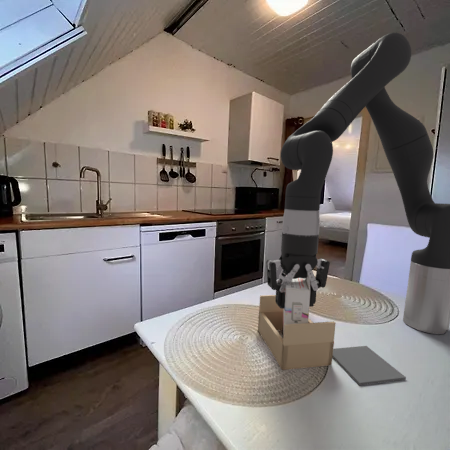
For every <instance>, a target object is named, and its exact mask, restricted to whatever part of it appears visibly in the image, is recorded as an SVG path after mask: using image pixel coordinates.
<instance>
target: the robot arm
mask: <svg viewBox="0 0 450 450" xmlns="http://www.w3.org/2000/svg"><path fill="white" fill-rule="evenodd" d="M411 58H412V47H411V44H410V42H409V40H408V39H407V37H406V36H405V35H404V34H402V33H400V32H389V33H387V34H385V35H383V36H382V37H381V36H380V37H379V39H377V40H376V41H375V42H373V43H371V45H369V46H368V47H367V48H365V49H364V50H363V51H362V52H360V53H359V54H358V55H356V57H355V58H354V59H353V60H352V62H351V65H350V76H351V79H350V80H349V81H348V82H346V84H344V85H343V86H342V87H341V88H340V89H339V90H337V91H336V92H335V93H334V94H333V95H332V96H331V97H330V98H329V99H328V100H327V101H326V102H325V103H324V104H323V106H322V107H321V108H320V109H319V110H318V111H317V112H316V113H315V115H314V116H313V117H312V118H311V119H310V120H308V121H307V122H305V123H304V124H303V125H302V126H300V127H299V128H298V129H296V130H295V131H294V132H293V133H292V134H291V135H289V136H288V137H287V139H285V142H284V143H283V145H282V148H281V150H280V160H281V162H282V163H281V164H282V165H283V166H284V167H285V168H286V169H288V170H292V171H299V175H298V177H297V178H296V180H293V181H291V182H289V183H288V184H287V185H286V189H285V198H284V199H285V200H284V210H283V211H284V213H283V217H282V227H281V228H282V230H281V242H280V243H281V245H280V253H281V254H280V256H279V258H278V259H274V260H271V259H267V260H266V262H265V264H266V279H267V280H266V281H267V286H268V287H269V288H271V290H273V291H275V295H276V299H275V302H276V304H277V305H278V306H279V307H280V308H281V309H284V307H285V292H284V291H285V288H286V285H288V284H290V283H291V281H292V279H297V278H304V279H305V281H306V280H307V277H308V276H307V272H309V274H310V304H309V308H311V307H312V308H313V307H314V305H315V304H316V302H317V291H318V289H321V288H323V289H324V288H325V287H326V285H327V279H328V276H329V270H330V265H331V264H330V263H331V262H330V261H328V260H327V259H324V258H322V257H321V258H319V259H318V258H317V254H318V251H319V250H318V249H319V239H320V238H319V237H320V226H321V223H320V222H321V220H320V218H321V217H320V207H321V196H322V195H321V192H322V189H323V186H324V184H325V182H326V181H325V180H326V178H327V175H328V172H329V169H330V166H331V163H332V159H333V154H334V146H333V142H335V141H336V140H338V139H339V138H340V137H341V136H342V135H343V134H344V133H345V131H346V130H347V129H348V128H349V127H350V125H351V124H352V123H353V122H354V120H355V119H356V118H357V117H358V116H359V114H360V113H361V112H362V111H363V109H364V108H365V109H366V111H367V112H368V114H369V117H370V119H371V121H372V123H373V125H374V127H375V130H376V132H377V134H378V137H379V140H380V142H381V145H382V148H383V151H384V154H385V157H386V159H387V161H388V164H389V166H390V169H391V171H392V173H393V176H394V179H395V182H396V184H397V186H398V187H397V188H398V191H399V193H400V196H401V200H402V205H403V207H404V212H405V216H406V219H407V222H408V226H409V228H410V229H411V230H412V232H413V233H414V234H416V235H418V236H421V237H423V238H424V237H425V238H429V239H428V242H427V245H426V247H424V248H422V249H420V248H419V249H416V250H415V249H414V250H413V251H412V252H411V257H410V264H409V265H410V266H409V271H408V272H409V273H408V281H407V288H406V295H405V301H404V302H405V303H404V310H403V317H402V321H403V322H404V323H405V324H406V326H409V327H411V328H413V329H414V330H415V329H416V331H417V330H418V331H420V332H424V333H428V334H432V335H443V334H445V333H446V332H447V331H449V330H450V203H440V202H439V203H437V202H434V199H433V197H432V194H431V192H430V189H429V185H428V179H429V174H430V172H431V167H432V165H433V161H434V160H433V159H434V147H433V145H432V142H431V139H430V137H429V133H428V131H427V128H426V126H425V125H424V124H423V123H422V122H421V121H420V120H419V119H417V118H416V117H415V116H413V115H411V114H410V113H408V112H407V111H404V110H403V109H402V108H401V107H399V106H398V105H396V104H395V102H394V101H393V100H392V99H391V97H390V95H389V93H388V92H387V90H386V86H387V85H388V84H389V83H390V82H392V81H393V80H394V79H396V78H397V77H398V76H399V75H400V74H401V73H403V72H404V71H405V70H406V69H407V68H408V65H409V64H410V62H411ZM279 267H280V268H281V271H280V273H279V275H278V279H277V272H278V270H279ZM315 268H316V274H314V272H313V270H314V269H315Z"/></svg>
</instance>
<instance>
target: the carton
mask: <svg viewBox="0 0 450 450" xmlns="http://www.w3.org/2000/svg"><path fill="white" fill-rule="evenodd" d="M275 299H276V294H269V295H268V294H266V295H260V296H259V309H258V319H257V320H258V321H257V331H258V332H259V334H260V336H261V337H262V339H263V341H264V342H265V344H266V346H267V347H268V350H269V351H270V353H271V354H272V356H273V358H274V359H275V361H276V363H277V364H278V365H279V367H280V369H281V370H282V371H288V370H297V369H298V370H299V369H308V368H317V367H328V366H332V365H333V358H332V356H333V349H334V345H335V334H336V333H335V332H336V321H335V320H334V321H325V322H324V321H323V322H322V321H321V322H313V321H312V320H311V319H310V318H309V319H308V323H302V324H286V325H284V336H283V337H282V335H281V334H280V333H279V331H283V309H281V308H280V307H279V306H278V305H277V304H276V302H275Z"/></svg>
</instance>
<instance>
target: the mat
mask: <svg viewBox="0 0 450 450" xmlns="http://www.w3.org/2000/svg"><path fill="white" fill-rule="evenodd" d="M332 360H334V361H335V362H336V363H337V364H338V365H339V366H340V368H342V369H343V370H344V371H345V372H346V373H347V374H348V375H349V376H350V377H351V379H353V381H354V382H355V383H356V384H357V385H358V386H365V385H366V386H367V385H373V384H383V383H389V382H390V383H391V382H399V381H400V382H401V381H406V380H407V377H406V376H405V375H404V374H403V373H401V372H400V371H399V370H398V369H397V368H395V367H394V366H392V365H391V364H390V363H389V362H388V361H386V360H385V359H384V358H382V357H381V356H380V355H379V354H377V353H376V352H375V351H373V350H372V348H370V347H369V346H367V345H362V346H361V345H360V346H351V347H349V346H348V347H338V348H337V347H336V348H333V356H332Z"/></svg>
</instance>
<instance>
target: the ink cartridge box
mask: <svg viewBox="0 0 450 450" xmlns="http://www.w3.org/2000/svg"><path fill="white" fill-rule="evenodd" d="M307 276H308V277H307V280H306V281H305V279H304V278H297V279H292V281H291V283H290V284H288V285H286V288H285V291H284V292H285V307H284V309H283V330H282V331H283V334H282V335H283V336H284V325H286V324H302V323H308V319H310V318H309V316H310V307H309V304H310V274H309V272H307Z"/></svg>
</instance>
